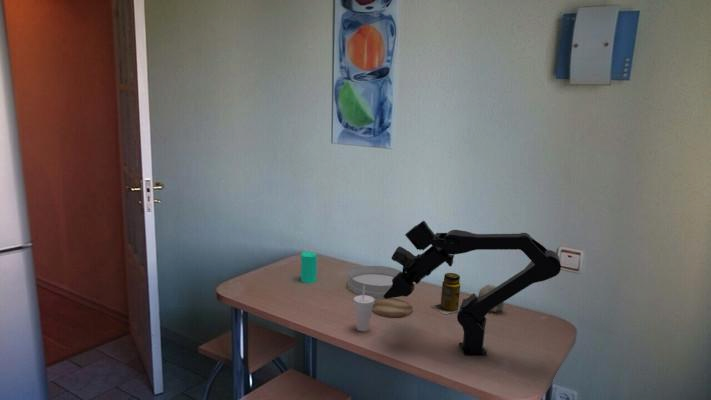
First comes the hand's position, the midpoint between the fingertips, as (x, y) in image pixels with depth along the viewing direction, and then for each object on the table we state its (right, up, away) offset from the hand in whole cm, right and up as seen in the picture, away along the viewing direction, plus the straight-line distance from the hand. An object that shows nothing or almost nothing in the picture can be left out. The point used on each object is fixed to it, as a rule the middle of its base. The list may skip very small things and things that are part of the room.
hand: (388, 292), depth 148 cm
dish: (-2, -6, +40) cm, 40 cm away
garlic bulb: (+37, -10, +24) cm, 45 cm away
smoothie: (-8, -12, +5) cm, 15 cm away
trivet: (+2, -9, +20) cm, 23 cm away
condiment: (+22, -10, +23) cm, 33 cm away
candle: (-28, -4, +44) cm, 52 cm away
